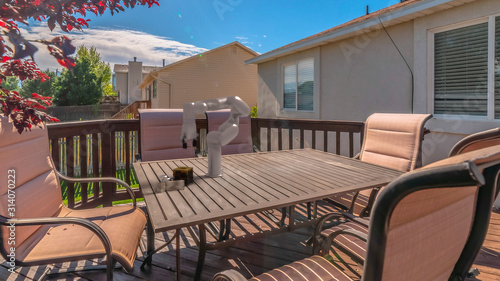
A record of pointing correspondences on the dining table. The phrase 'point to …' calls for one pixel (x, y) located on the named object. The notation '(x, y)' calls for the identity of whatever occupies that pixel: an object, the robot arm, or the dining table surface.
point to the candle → (183, 175)
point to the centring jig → (170, 186)
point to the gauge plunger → (165, 177)
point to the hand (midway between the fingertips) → (189, 147)
